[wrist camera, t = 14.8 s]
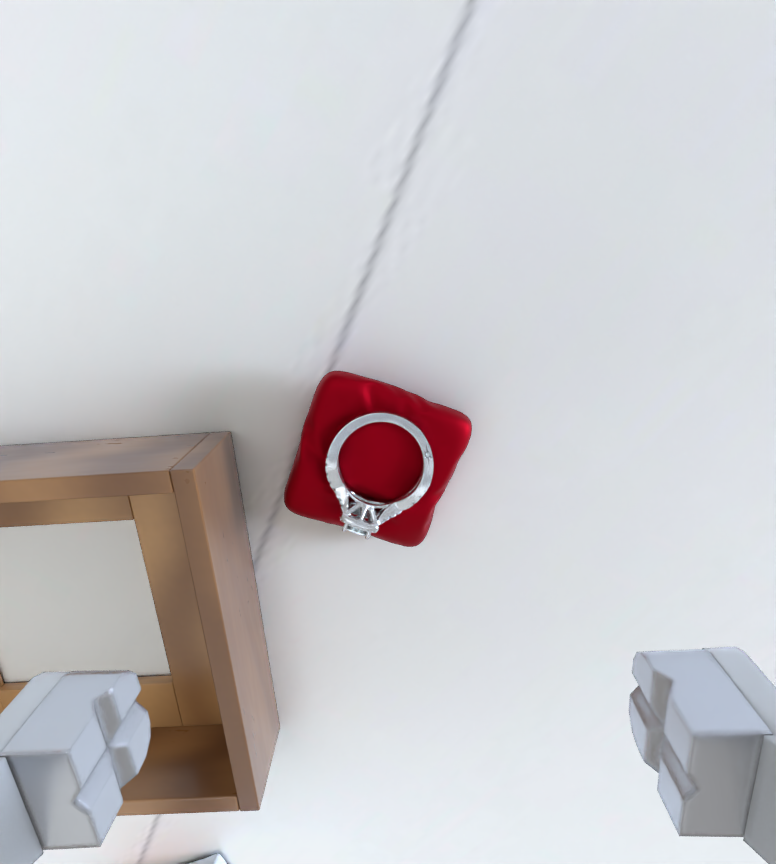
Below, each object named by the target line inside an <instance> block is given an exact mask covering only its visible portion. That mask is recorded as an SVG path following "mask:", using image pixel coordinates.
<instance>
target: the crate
mask: <svg viewBox="0 0 776 864" xmlns="http://www.w3.org/2000/svg"><path fill="white" fill-rule="evenodd" d="M133 519H135V524H136V528H137V532H138V536H139V541H140V545H141V549H142V553H143V558H144V562H145V566H146V570H147V574H148V579H149V583H150V587H151V591H152V596H153V600H154V604H155V608H156V613H157V617H158V621H159V625H160V630H161V634H162V638H163V642H164V646H165V651H166V655H167V659H168V663H169V668H170V672H171V675H165V676H145V677H138V680H139V683H140V686H141V691H140V693H139V694H138V696H137V698H136V701H137V702H138V703H139V704H141V705H142V706H143V707H144V708H145V709H146V710H147V711H148V715H149V719H150V728H151V738H150V742H149V746H148V751H147V755H146V758H145V760H144V762H143V764H142V766H141V768H140V770H139V772H138V774H137V775H136V776H135V777H134V778H133V779H132V780H130V781H129V782H128V783H127V784H126V785H124V786H123V787H122V788H121V792H122V798H123V804H122V806H121V808H120V809H119V811H118V813H117V815H116V816H124V815H149V814H174V813H199V812H225V811H239V810H240V811H256V810H259V809H260V806H261V802H262V798H263V794H264V790H265V786H266V782H267V778H268V774H269V770H270V766H271V761H272V757H273V753H274V749H275V745H276V741H277V737H278V733H279V729H280V725H279V719H278V713H277V707H276V701H275V695H274V689H273V683H272V677H271V670H270V664H269V658H268V652H267V646H266V640H265V634H264V628H263V622H262V616H261V610H260V604H259V598H258V592H257V586H256V580H255V574H254V568H253V562H252V556H251V550H250V544H249V538H248V532H247V526H246V520H245V514H244V508H243V502H242V496H241V490H240V484H239V478H238V472H237V466H236V460H235V454H234V448H233V442H232V436H231V432H229V431H228V432H212V433H197V434H181V435H165V436H149V437H133V438H117V439H102V440H86V441H70V442H54V443H38V444H22V445H6V446H0V527H14V526H32V525H49V524H66V523H83V522H101V521H118V520H133ZM27 683H28V682H20V683H5V684H4V682H3V679H2V676H1V673H0V714H1V713H2V712H3V711H4V709H5V708H6V707H7V706H8V705H9V704H10V703H11V702H12V700H13V699H14V698H15V697H16V696H17V695H18V694H19V692H20V691H21V690H22V689H23V688H24V687H25V686H26V685H27Z"/></svg>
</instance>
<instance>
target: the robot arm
mask: <svg viewBox="0 0 776 864" xmlns="http://www.w3.org/2000/svg"><path fill="white" fill-rule="evenodd" d="M632 673H633V675H634V677H635V679H636V681H637V683H638V684H639V686H638V687H637V688H636V689H635V690H634V691H633V692H632V693H631V694H630V703H629V715H630V721H631V728H632V733H633V736H634V739H635V742H636V745H637V747H638V750H639V752H640V754H641V756H642V758H643V761H644V762H645V763H646V764H648V765H649V766H650V767H652V768H653V769H654V770H655V771H657V772H658V773H659V778H658V787H657V790H658V793H659V795H660V797H661V799H662V801H663V803H664V805H665V807H666V809H667V811H668V813H669V815H670V818H671V820H672V822H673V824H674V826H675V828H676V830H677V832H678V834H679V836H711V837H744V839H743V841H745V842H746V843H747V844H748V845H749V846H750V847H751V848H752V849H753V850H754V851H755V852H756V853H758V854H759V855H760V856H761V857H762V858H763V859H764V860H765V861H766V862H767V863H768V864H776V687H775V686H774V685H773V684H772V683H771V681H770V680H769V679H768V678H767V677H766V676H765V674H764V673H763V672H762V671H761V670H760V669H759V668H758V666H757V665H756V664H755V663H754V662H753V661H752V659H751V658H750V657H749V656H748V655H747V654H746V653H745V652H744V651H743V650H741V649H739V648H738V647H720V648H703V649H702V650H701V649H690V650H668V651H645V652H637V653H636V655H635V657H634V659H633V667H632ZM140 691H141V686H140V683H139V680H138V677H137V674H136V673H134V672H131V671H129V670H127V671H72V672H43V673H41V674H39V675H37V676H35V677H33V678H32V679H31V680H30V681H29V682H28V683H27V685H26V686H25V687H24V688H23V689H22V690H21V691H20V692H19V694H18V695H17V696H16V697H15V698H14V699H13V700H12V702H11V703H10V704H9V705H8V706H7V707H6V708H5V709H4V711H3V712H2V713H1V714H0V864H33V863H34V862H35V861H36V860H37V859H38V858H39V857H40V856H41V855H42V854H43V850H50V849H69V848H89V847H100V846H101V844H102V842H103V840H104V838H105V836H106V834H107V833H108V831H109V829H110V827H111V825H112V823H113V821H114V819H115V817H116V815H117V813H118V811H119V809H120V808H121V806H122V804H123V798H122V792H121V788H122V787H123V786H124V785H126V784H127V783H128V782H129V781H130V780H132V779H133V778H134V777H135V776H136V775H137V774H138V772H139V770H140V768H141V766H142V764H143V762H144V760H145V758H146V755H147V751H148V746H149V742H150V738H151V728H150V719H149V715H148V711H147V710H146V709H145V708H144V707H143V706H142V705H141V704H139V703H138V702H137V701H136V698H137V696H138V694H139V693H140Z"/></svg>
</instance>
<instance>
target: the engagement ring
mask: <svg viewBox="0 0 776 864" xmlns="http://www.w3.org/2000/svg"><path fill="white" fill-rule="evenodd" d="M471 431H472V425H471V421H470V420H469V418H468V417H467V416H466V415H464V414H463V413H461V412H459V411H457V410H454V409H451V408H449V407H446V406H443V405H440V404H436V403H432V402H429V401H427V400H425V399H424V398H422V397H420V396H418V395H416V394H413V393H410V392H408V391H405V390H403V389H401V388H398V387H396V386H393V385H390V384H387V383H384V382H381V381H377V380H374V379H370V378H366V377H363V376H359V375H356V374H352V373H348V372H343V371H332V372H329V373H327V374H326V375H325V376H324V377H323V378H322V380H321V381H320V383H319V384H318V386H317V389H316V391H315V394H314V397H313V400H312V403H311V406H310V409H309V412H308V414H307V417H306V420H305V423H304V426H303V430H302V434H301V440H300V444H299V448H298V451H297V454H296V457H295V460H294V464H293V467H292V469H291V472H290V476H289V479H288V481H287V484H286V487H285V492H284V502H285V505H286V507H287V508H288V509H289V510H290V511H292V512H293V513H295V514H298V515H300V516H303V517H307V518H311V519H315V520H319V521H322V522H326V523H330V524H335V525H339V526H343V527H342V531H346V530H348V531H350V532H352V533H355V534H358V535H362V536H365V538H366V539H369V538H370V535H371V536H374V537H377V538H379V539H382V540H385V541H388V542H391V543H394V544H398V545H402V546H407V547H413V546H417V545H419V544H420V543H421V542H422V541H423V540H424V538H425V536H426V534H427V532H428V530H429V527H430V524H431V521H432V517H433V513H434V508H435V505H436V503H437V502H438V501H439V499H440V498H441V496H442V494H443V492H444V491H445V488H446V486H447V484H448V482H449V480H450V479H451V477H452V475H453V473H454V470H455V468H456V465H457V463H458V461H459V459H460V457H461V455H462V454H463V453H464V451H465V449H466V447H467V445H468V442H469V439H470V436H471Z"/></svg>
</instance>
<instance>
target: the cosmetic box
mask: <svg viewBox="0 0 776 864" xmlns="http://www.w3.org/2000/svg"><path fill="white" fill-rule="evenodd" d="M188 864H227V863H226V862H225V860H224V859H223V858H222V856H221V855H220V854H214V855H212V856H209V857H207V858H205V859H201V860H198V861H194V862H191V863H188Z"/></svg>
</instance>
